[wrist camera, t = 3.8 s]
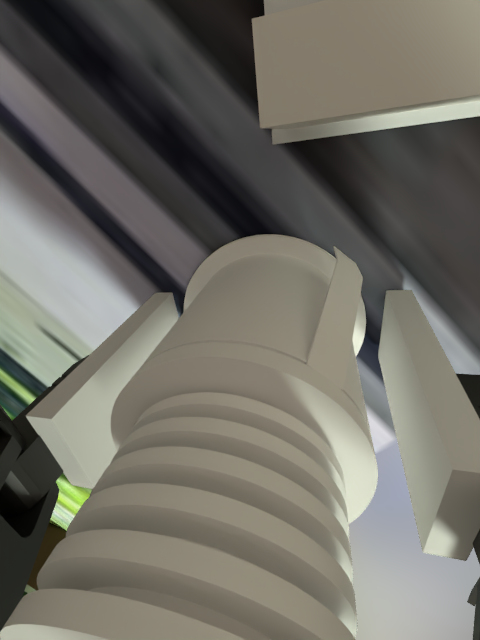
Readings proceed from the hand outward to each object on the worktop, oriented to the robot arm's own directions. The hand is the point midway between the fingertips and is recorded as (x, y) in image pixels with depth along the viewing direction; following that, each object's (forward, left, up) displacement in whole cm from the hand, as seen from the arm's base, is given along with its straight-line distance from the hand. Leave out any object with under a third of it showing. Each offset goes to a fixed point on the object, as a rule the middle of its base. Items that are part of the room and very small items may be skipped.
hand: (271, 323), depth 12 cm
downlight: (0, 0, -1) cm, 1 cm away
